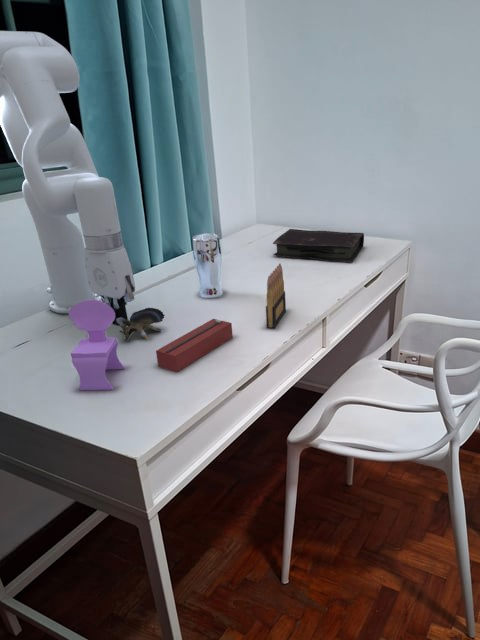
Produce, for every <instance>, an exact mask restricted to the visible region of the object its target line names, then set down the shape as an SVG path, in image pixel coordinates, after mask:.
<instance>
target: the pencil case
mask: <svg viewBox="0 0 480 640" xmlns="http://www.w3.org/2000/svg"><path fill="white" fill-rule="evenodd" d="M233 337H234V336H233V325H232V322H229V321H226V320H221V319H218V318H212V319H209V320H207V321H206V322H205V323H203V324H201V325H199V326H196V327H195V328H193V329H192V330H190V331H188V332H187V333H185V334H183V335H181V336H180V337H178V338H176V339H174V340H172V341H170V342H169V343H167V344H166V345H163V346H161V347H160V348H158V349H156V350H155V353H156V360H157V366H158V367H159V368H163V369H165V370H169V371H172V372H176V373H178V372H180V371H182V370H183V369H185V368H187V367H188V366H189V365H191V364H193V363H194V362H196V361H198V360H199V359H201V358H203V357H204V356H205V355H207V354H209V353H211V352H212V351H214V350H215V349H217V348H219V347H220V346H222V345H223V344H225V343H226V342H228V341H230V340H231V339H233Z"/></svg>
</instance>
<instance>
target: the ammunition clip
mask: <svg viewBox="0 0 480 640" xmlns="http://www.w3.org/2000/svg"><path fill="white" fill-rule="evenodd" d="M283 272H284V271H283V267H282V263H280V262H279V264H278V265H277V266H276V267H275V268H274V270H272V272H271V273H270V275H268V277H267V281H266V306H265V317H266V318H265V319H266V323H265V324H266V329H273V330H274V329H276V327H277V326H278V324H279V323H280V321H281V320H282V318H283V316H284V315H285V313H286V312H287V306H286V305H287V303H286V302H287V301H286V291H285V281H284V274H283Z"/></svg>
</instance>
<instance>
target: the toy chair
mask: <svg viewBox="0 0 480 640" xmlns="http://www.w3.org/2000/svg"><path fill="white" fill-rule="evenodd" d="M68 316H69V319H70V320H71V322H72V323H73V324H74V326H75V327H76V328H77V329H79V330H82V331H85V332H86V333H87V335H88V337H82V338H81V339H80V341H79V342H78V344H77V345H76V346H75V347H74V348H73V349H72V351H71V352H70V356H71V357H70V358H71V363H72V366H73V367H74V369H75V370H76V372H77V374H78V376H79V389H78V390H79V391H103V390H104V391H105V390H114V389H115V387H114V385H112V384H111V382H109V380H108V379H107V376H106V370H125V369H126V366H125V365H124V364H123V363H122V361H120V359H119V357H118V346H119V342H118V340H117V337H107V335H106V329H108V328H110V327H111V325H113V324H112V322H113V321H114V319H115V312H114V310H113V309H112V308H111V307H110V306H109V305H107V304H106V302H105V301H104V302H103V301H102V302H101V301H99V300H95V299H90V300H85V301H82V302H79V303H77V304H76V305H74V306H73V307H72V308H71V309H70V311H69V313H68Z"/></svg>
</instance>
